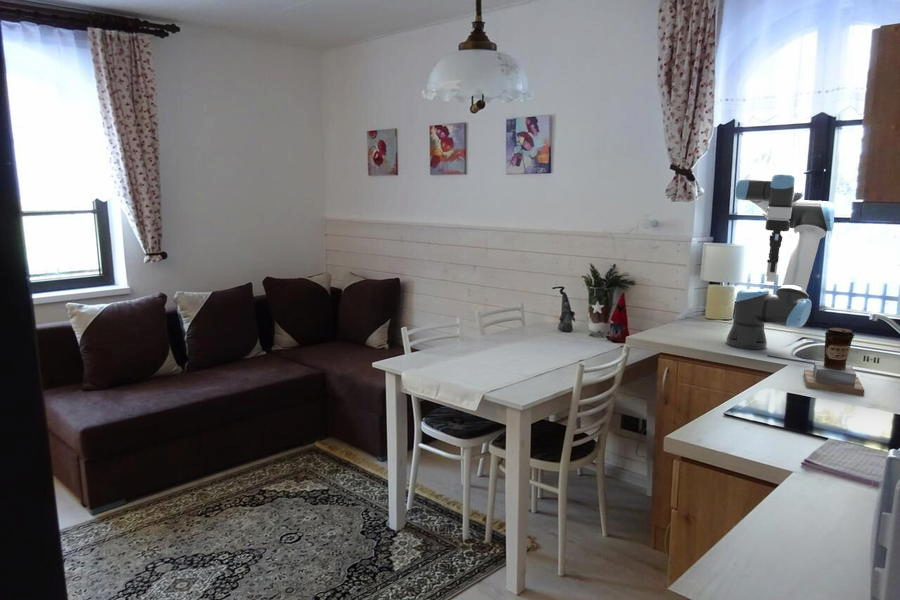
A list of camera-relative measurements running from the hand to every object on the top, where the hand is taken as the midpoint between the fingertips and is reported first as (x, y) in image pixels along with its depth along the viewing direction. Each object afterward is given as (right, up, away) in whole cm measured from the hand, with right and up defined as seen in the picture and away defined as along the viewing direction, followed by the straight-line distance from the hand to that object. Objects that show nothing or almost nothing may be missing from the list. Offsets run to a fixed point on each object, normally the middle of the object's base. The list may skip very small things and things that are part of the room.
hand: (770, 279), depth 231 cm
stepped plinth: (+13, -36, -16) cm, 41 cm away
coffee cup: (+13, -30, -17) cm, 37 cm away
